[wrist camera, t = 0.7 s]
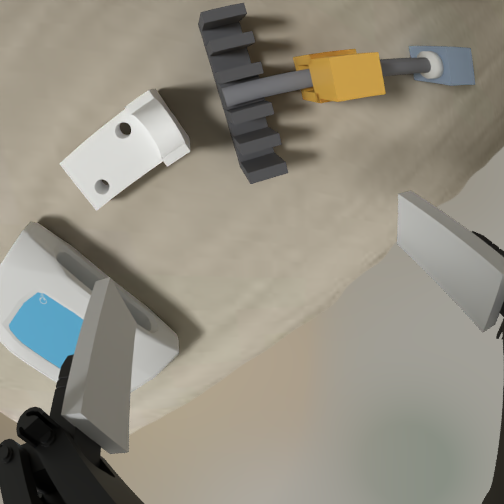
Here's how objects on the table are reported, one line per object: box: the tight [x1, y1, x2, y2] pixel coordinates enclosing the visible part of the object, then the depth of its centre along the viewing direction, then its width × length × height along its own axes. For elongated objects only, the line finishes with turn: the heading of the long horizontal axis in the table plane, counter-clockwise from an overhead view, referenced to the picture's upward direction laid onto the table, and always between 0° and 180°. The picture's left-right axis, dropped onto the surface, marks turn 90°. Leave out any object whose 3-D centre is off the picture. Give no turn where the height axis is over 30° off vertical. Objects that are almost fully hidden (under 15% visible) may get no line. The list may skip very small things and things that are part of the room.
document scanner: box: [0, 222, 179, 393], centre depth 41 cm, size 21×28×6 cm
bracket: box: [60, 89, 190, 211], centre depth 30 cm, size 13×7×8 cm, turn 120°
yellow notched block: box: [293, 49, 386, 103], centre depth 27 cm, size 5×5×9 cm
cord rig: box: [198, 3, 475, 184], centre depth 30 cm, size 32×18×8 cm, turn 105°
